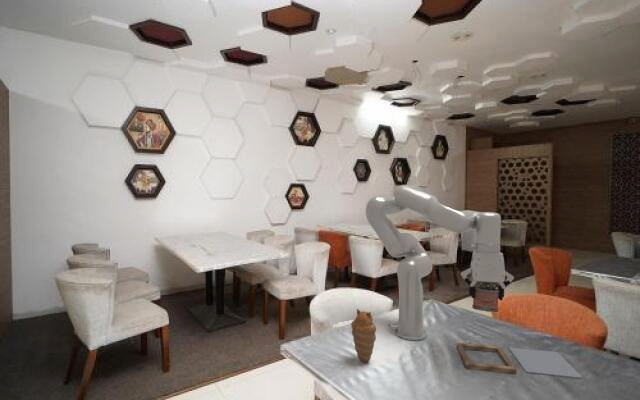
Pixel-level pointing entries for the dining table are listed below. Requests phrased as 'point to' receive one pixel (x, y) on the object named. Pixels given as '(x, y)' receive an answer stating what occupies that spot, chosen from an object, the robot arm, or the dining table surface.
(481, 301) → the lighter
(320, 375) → the dining table surface
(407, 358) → the dining table surface
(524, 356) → the pad
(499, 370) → the picture frame
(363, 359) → the cat ice cream
